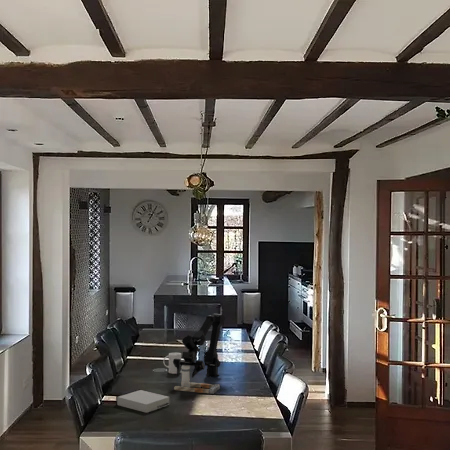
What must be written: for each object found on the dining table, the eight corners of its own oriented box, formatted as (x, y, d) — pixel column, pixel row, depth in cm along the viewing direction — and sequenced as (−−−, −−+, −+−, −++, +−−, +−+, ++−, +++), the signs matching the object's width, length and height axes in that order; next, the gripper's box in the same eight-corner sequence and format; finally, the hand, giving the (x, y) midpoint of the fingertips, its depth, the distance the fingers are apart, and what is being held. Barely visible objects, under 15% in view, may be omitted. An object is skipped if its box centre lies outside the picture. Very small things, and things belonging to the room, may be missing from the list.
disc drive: (139, 398, 328) (139, 389, 328) (169, 405, 315) (169, 396, 315) (115, 405, 314) (115, 396, 314) (146, 413, 301) (146, 404, 301)
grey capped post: (186, 386, 350) (186, 364, 350) (191, 388, 346) (191, 366, 346) (179, 388, 347) (179, 365, 347) (184, 389, 343) (184, 367, 343)
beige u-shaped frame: (174, 390, 343) (174, 385, 343) (181, 385, 353) (181, 380, 353) (213, 393, 335) (213, 389, 335) (219, 388, 346) (219, 384, 346)
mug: (162, 373, 381) (162, 354, 381) (164, 370, 390) (164, 352, 390) (180, 373, 380) (180, 355, 380) (182, 370, 389) (182, 352, 389)
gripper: (174, 345, 353) (166, 367, 343) (203, 347, 347) (196, 370, 337) (179, 355, 361) (171, 377, 350) (207, 357, 355) (201, 380, 344)
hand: (184, 376), depth 345 cm, fingers open, 9 cm apart
